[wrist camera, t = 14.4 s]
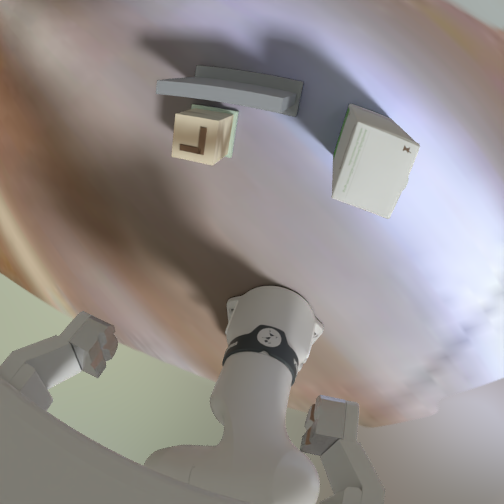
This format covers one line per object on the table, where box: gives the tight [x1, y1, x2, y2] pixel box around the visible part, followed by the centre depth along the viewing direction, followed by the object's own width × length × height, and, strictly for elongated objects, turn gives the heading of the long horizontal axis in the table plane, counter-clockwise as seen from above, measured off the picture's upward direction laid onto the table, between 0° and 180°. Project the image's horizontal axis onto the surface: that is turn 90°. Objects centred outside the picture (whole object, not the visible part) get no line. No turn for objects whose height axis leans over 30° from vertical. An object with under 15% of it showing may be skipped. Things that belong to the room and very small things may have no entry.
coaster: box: [191, 104, 239, 158], centre depth 43 cm, size 7×7×1 cm
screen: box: [156, 65, 304, 117], centre depth 34 cm, size 5×15×12 cm, turn 80°
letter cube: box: [172, 108, 234, 166], centre depth 41 cm, size 6×6×6 cm
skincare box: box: [332, 103, 420, 219], centre depth 33 cm, size 8×7×16 cm
